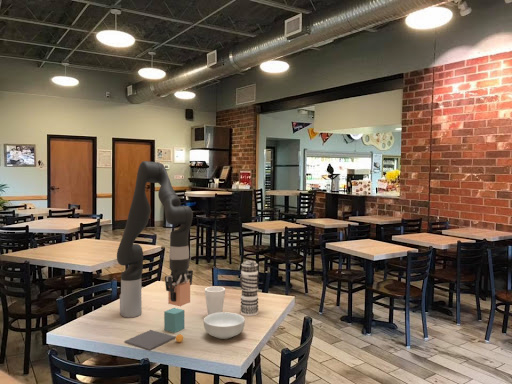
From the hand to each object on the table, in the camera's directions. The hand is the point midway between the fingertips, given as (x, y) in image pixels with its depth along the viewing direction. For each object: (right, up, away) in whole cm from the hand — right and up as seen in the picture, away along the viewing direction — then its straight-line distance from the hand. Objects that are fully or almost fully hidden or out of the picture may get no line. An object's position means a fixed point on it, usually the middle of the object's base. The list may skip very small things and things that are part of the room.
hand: (179, 298), depth 162 cm
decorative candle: (+27, -16, +36) cm, 48 cm away
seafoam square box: (-5, -17, +14) cm, 22 cm away
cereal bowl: (+17, -17, +8) cm, 26 cm away
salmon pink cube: (0, -2, 0) cm, 2 cm away
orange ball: (0, -17, +1) cm, 17 cm away
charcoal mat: (-12, -17, +2) cm, 21 cm away
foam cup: (+11, -16, +30) cm, 36 cm away
